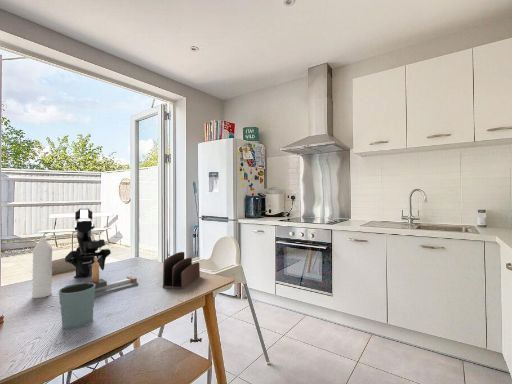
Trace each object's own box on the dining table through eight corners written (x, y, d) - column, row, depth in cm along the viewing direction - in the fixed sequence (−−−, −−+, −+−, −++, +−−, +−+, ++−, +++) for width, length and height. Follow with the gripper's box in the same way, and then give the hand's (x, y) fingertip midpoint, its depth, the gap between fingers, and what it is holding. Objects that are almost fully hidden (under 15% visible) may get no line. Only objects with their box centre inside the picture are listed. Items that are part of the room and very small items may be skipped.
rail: (129, 281, 130) (129, 275, 131) (138, 285, 125) (138, 278, 125) (68, 296, 111) (68, 289, 111) (74, 301, 105) (74, 294, 105)
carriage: (101, 283, 119) (101, 260, 120) (106, 285, 115) (106, 263, 116) (84, 287, 114) (84, 263, 114) (88, 290, 110) (89, 266, 110)
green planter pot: (101, 315, 92) (101, 282, 92) (83, 330, 82) (83, 292, 82) (72, 316, 92) (72, 282, 92) (50, 331, 82) (50, 293, 82)
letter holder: (162, 288, 120) (162, 258, 120) (182, 275, 140) (182, 249, 140) (182, 290, 118) (182, 259, 118) (200, 277, 138) (200, 250, 138)
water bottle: (46, 297, 109) (47, 238, 110) (28, 299, 108) (29, 239, 108) (57, 290, 118) (58, 235, 118) (41, 291, 116) (41, 236, 117)
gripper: (74, 233, 117) (82, 264, 111) (112, 233, 133) (121, 260, 127) (61, 246, 120) (68, 277, 114) (100, 245, 136) (108, 271, 131)
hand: (93, 270), depth 121 cm, fingers open, 9 cm apart
